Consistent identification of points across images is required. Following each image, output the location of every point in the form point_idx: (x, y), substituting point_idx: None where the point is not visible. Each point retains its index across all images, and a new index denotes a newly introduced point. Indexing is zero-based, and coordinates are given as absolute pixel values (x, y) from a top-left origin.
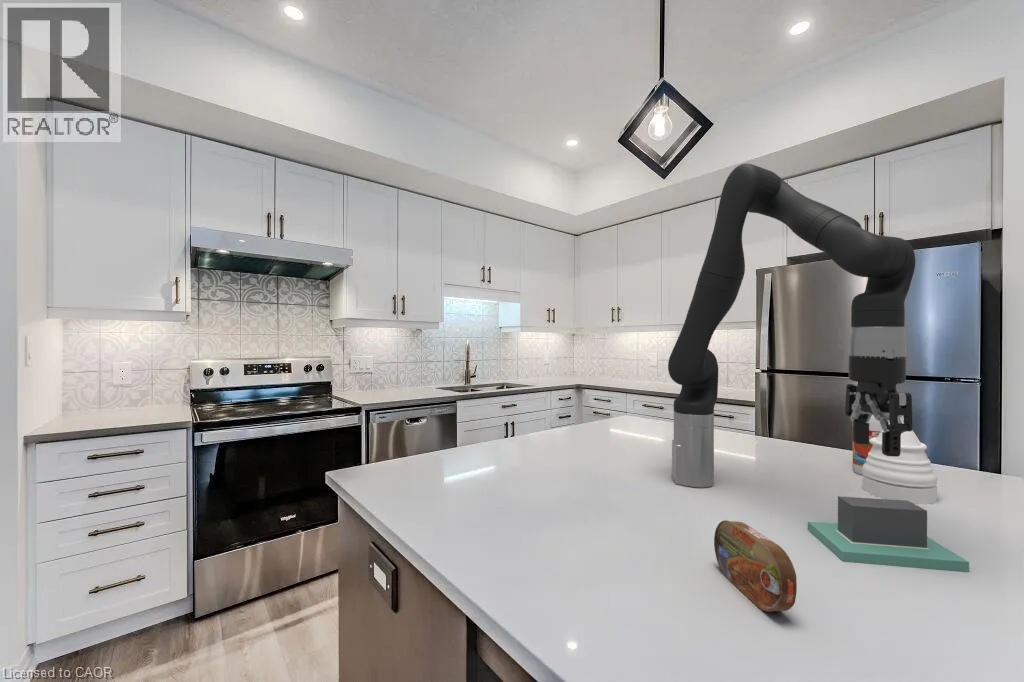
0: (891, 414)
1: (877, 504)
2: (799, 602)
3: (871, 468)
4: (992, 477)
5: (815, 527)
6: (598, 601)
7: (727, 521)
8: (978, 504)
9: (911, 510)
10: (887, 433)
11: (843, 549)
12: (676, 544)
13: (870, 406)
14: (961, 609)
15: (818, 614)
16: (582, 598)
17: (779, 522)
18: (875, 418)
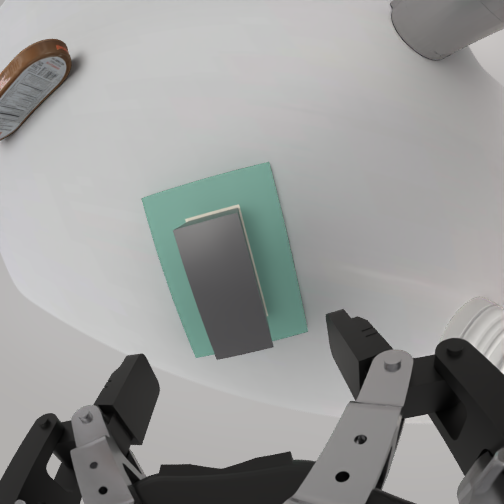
0: (26, 459)
1: (212, 285)
2: (31, 144)
3: (491, 320)
4: None
5: (239, 170)
6: (15, 22)
7: (26, 50)
8: None
9: (208, 336)
10: (102, 410)
11: (151, 201)
12: (123, 8)
13: (129, 493)
14: (86, 300)
15: (20, 161)
16: (18, 13)
17: (283, 120)
18: (104, 437)
